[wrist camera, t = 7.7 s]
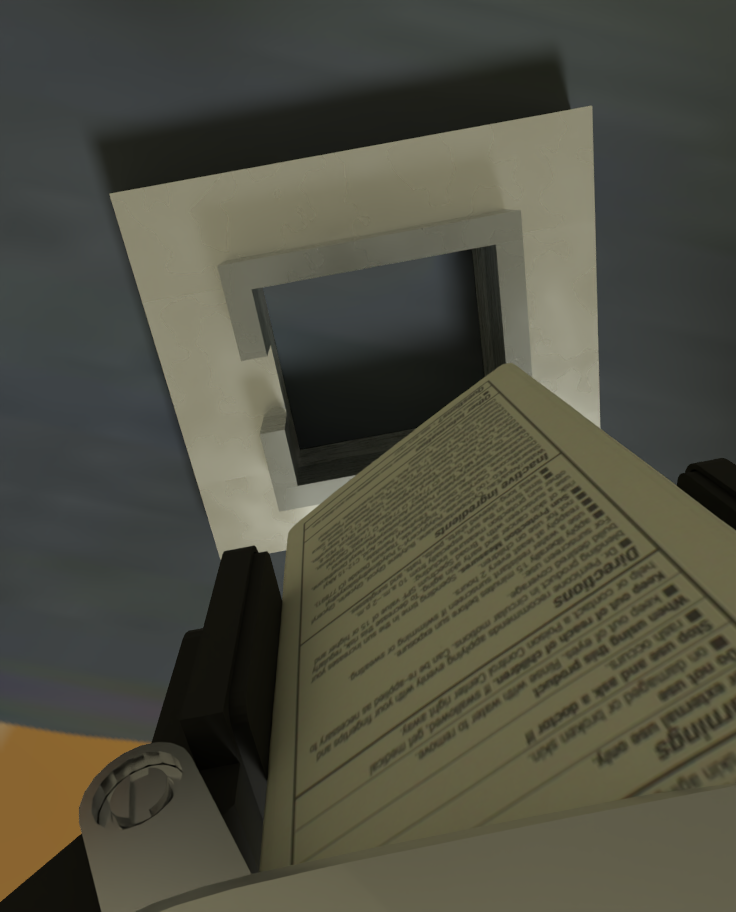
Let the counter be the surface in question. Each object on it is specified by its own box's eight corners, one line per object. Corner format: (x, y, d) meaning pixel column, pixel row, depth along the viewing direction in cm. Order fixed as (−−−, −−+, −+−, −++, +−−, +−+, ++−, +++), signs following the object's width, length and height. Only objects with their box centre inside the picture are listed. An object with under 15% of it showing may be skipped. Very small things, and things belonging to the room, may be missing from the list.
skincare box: (400, 643, 15) (626, 1859, 4) (277, 522, 14) (105, 1917, 3) (621, 490, 14) (1770, 1606, 3) (512, 338, 13) (2021, 1447, 1)
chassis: (584, 473, 31) (620, 510, 28) (227, 540, 31) (215, 586, 27) (571, 112, 25) (616, 97, 21) (124, 193, 25) (91, 193, 21)
